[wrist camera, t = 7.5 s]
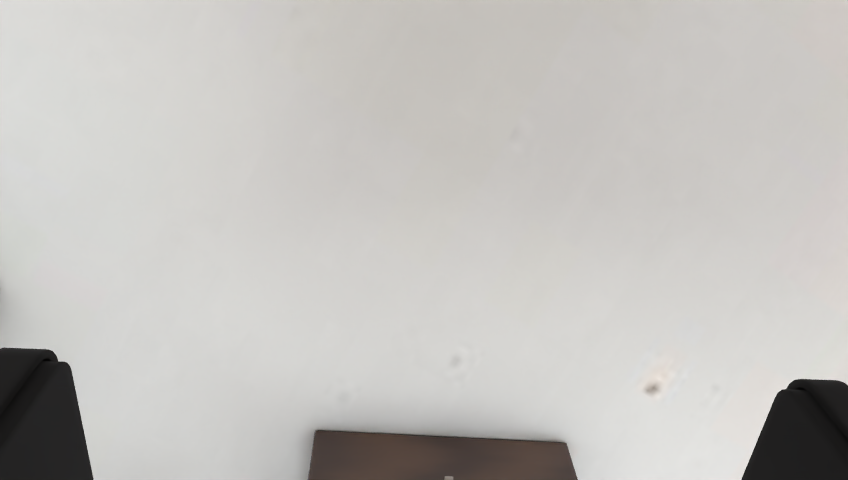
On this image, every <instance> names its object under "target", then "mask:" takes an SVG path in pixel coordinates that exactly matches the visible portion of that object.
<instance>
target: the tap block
mask: <svg viewBox="0 0 848 480" xmlns="http://www.w3.org/2000/svg"><path fill="white" fill-rule="evenodd" d="M308 480H578V479H577V476H576V473H575V469H574V466H573V463H572V460H571V456H570V453H569V450H568V447H567V444H566V443H555V442H535V441H515V440H495V439H475V438H455V437H435V436H415V435H395V434H375V433H355V432H335V431H315V436H314V443H313V450H312V456H311V463H310V470H309V477H308Z"/></svg>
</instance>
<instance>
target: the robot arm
mask: <svg viewBox="0 0 848 480" xmlns="http://www.w3.org/2000/svg"><path fill="white" fill-rule="evenodd" d="M0 480H93V475H92V470H91V465H90V460H89V455H88V450H87V445H86V440H85V436H84V431H83V426H82V421H81V416H80V411H79V406H78V401H77V396H76V391H75V386H74V381H73V376H72V371H71V368H70V366H69V364H68V363H66V362H58V359H57V356H56V355H55V353H54V352H53V351H51V350H46V349H21V348H2V349H0ZM742 480H848V385H847V384H845V383H844V382H841V381H836V380H811V379H798V380H794V381H793V382H791V383H790V384H789V386H788V387H787V389H785V390H781V391H780V392H778V394H777V395H776V397H775V399H774V402H773V404H772V407H771V409H770V411H769V414H768V416H767V419H766V421H765V424H764V426H763V429H762V431H761V433H760V436H759V438H758V441H757V443H756V446H755V448H754V450H753V453H752V455H751V458H750V460H749V463H748V465H747V467H746V470H745V472H744V475H743V477H742Z"/></svg>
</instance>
